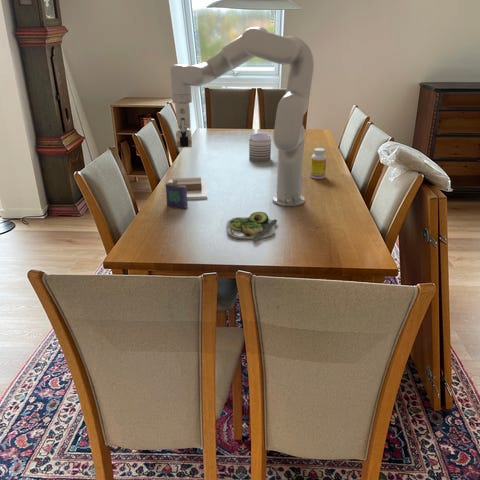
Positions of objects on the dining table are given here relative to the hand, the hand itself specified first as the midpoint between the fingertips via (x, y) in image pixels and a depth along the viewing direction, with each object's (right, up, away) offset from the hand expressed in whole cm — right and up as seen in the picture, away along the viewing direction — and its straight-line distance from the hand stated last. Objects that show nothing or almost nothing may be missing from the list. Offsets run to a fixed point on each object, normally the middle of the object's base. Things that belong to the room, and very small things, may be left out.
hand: (184, 144), depth 188 cm
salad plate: (+26, -35, -27) cm, 52 cm away
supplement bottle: (+58, -10, +24) cm, 63 cm away
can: (+33, +2, +50) cm, 59 cm away
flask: (-2, -26, -8) cm, 27 cm away
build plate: (0, -18, +9) cm, 20 cm away
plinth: (0, -17, +8) cm, 18 cm away
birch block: (0, -1, 0) cm, 1 cm away
